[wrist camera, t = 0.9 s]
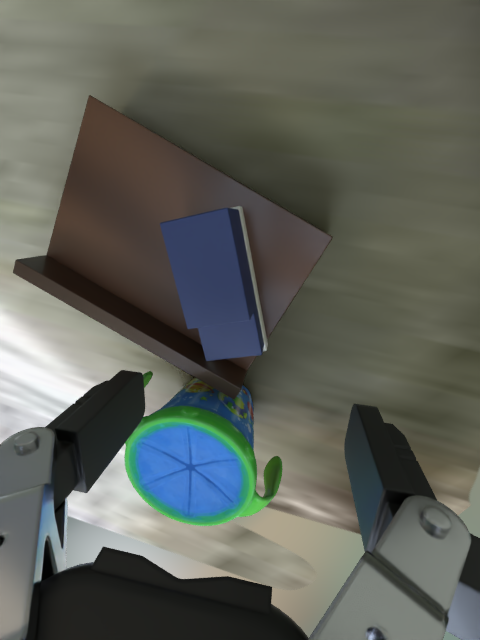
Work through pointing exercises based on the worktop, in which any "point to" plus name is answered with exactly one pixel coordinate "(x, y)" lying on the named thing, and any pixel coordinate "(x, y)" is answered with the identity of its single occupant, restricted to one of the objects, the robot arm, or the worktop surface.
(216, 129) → the worktop surface
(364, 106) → the worktop surface
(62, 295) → the wooden display stand
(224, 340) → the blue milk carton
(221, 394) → the snack cup
